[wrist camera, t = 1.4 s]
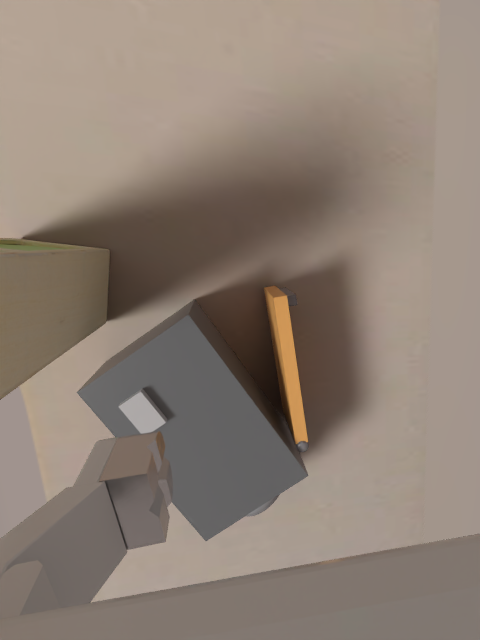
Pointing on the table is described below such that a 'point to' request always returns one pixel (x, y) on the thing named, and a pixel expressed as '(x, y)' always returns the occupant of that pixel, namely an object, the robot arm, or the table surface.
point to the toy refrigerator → (47, 303)
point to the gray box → (199, 420)
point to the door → (286, 361)
